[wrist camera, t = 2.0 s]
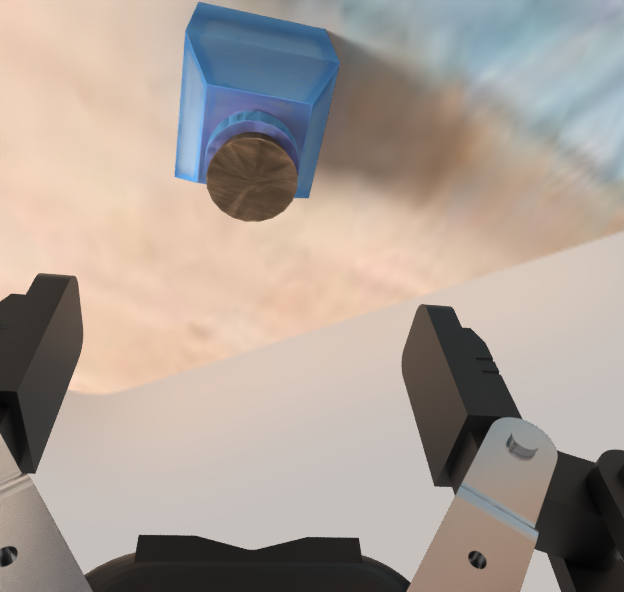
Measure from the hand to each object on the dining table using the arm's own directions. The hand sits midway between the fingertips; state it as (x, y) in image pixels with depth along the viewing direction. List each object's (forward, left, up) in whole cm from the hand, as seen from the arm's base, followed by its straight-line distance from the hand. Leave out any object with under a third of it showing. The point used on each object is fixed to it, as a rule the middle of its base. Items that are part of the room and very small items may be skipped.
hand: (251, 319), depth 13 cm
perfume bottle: (0, 0, -20) cm, 20 cm away
